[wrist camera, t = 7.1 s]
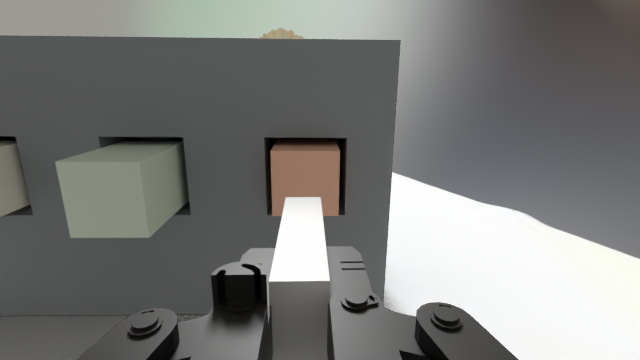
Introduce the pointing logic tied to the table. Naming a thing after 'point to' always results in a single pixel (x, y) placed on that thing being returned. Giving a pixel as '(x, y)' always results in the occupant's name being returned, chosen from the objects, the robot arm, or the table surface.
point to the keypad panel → (186, 157)
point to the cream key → (11, 179)
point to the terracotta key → (305, 172)
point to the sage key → (123, 188)
